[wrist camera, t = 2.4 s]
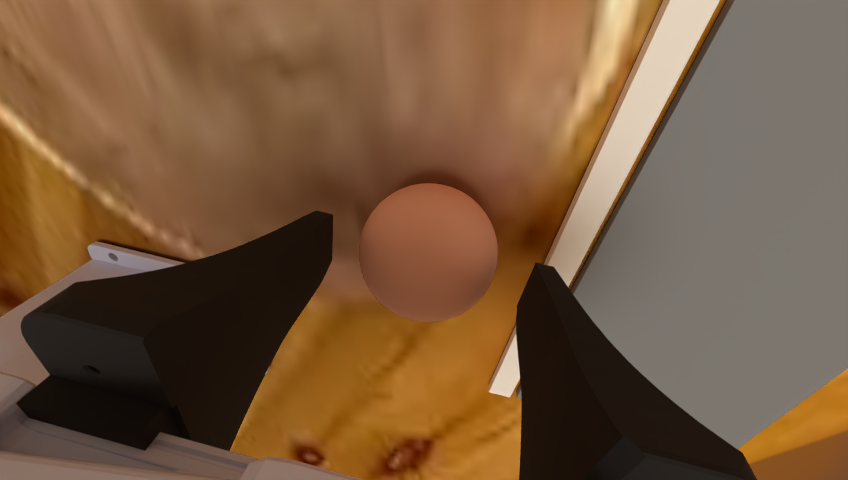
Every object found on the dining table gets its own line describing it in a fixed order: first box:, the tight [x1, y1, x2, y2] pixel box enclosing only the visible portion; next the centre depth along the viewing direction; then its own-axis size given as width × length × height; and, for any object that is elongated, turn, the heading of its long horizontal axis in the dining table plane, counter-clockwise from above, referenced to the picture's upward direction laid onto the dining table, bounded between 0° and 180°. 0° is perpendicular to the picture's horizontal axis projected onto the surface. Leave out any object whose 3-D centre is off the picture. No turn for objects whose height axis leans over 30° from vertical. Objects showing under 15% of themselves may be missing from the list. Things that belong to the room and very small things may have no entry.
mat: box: [489, 0, 848, 449], centre depth 14 cm, size 14×20×1 cm
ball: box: [359, 183, 498, 322], centre depth 13 cm, size 5×5×5 cm
